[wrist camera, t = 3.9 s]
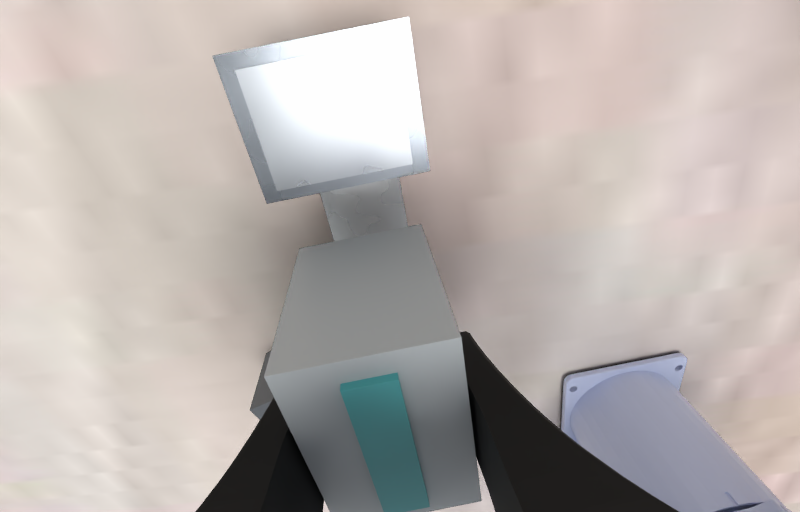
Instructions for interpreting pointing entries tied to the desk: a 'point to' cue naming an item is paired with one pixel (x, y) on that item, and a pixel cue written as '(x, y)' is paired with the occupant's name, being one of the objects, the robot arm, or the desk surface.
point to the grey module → (375, 376)
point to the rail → (333, 121)
